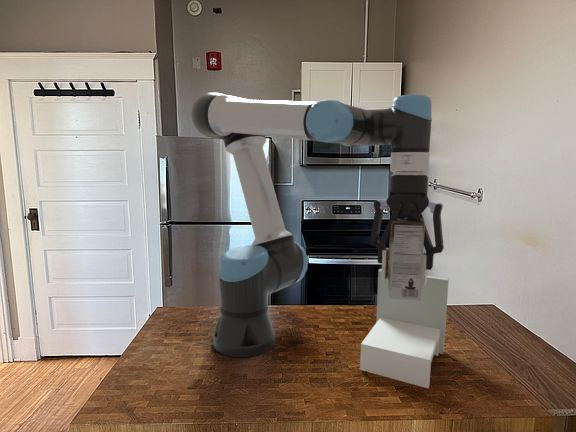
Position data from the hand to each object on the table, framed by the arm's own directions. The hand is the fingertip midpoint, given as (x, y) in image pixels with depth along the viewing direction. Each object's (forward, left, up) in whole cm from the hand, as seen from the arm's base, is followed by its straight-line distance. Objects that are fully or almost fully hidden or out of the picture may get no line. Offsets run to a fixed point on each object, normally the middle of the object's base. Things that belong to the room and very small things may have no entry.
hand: (403, 280), depth 80 cm
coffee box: (0, 0, -3) cm, 3 cm away
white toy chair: (0, +2, -19) cm, 19 cm away
